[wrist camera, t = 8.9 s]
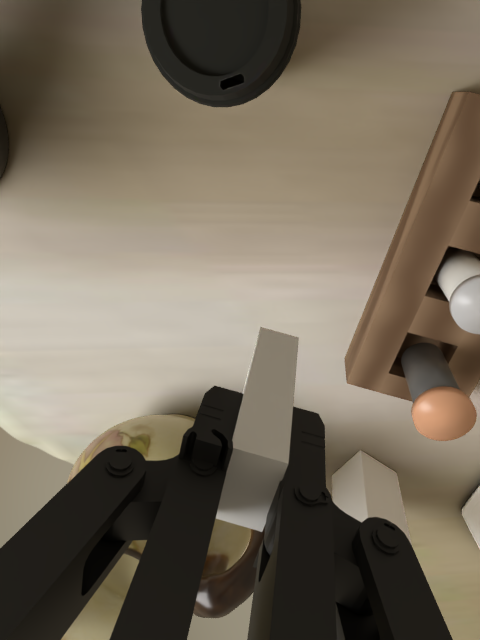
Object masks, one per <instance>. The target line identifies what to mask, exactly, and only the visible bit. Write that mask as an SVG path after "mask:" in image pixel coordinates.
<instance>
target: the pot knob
mask: <svg viewBox="0 0 480 640" xmlns="http://www.w3.org/2000/svg"><path fill="white" fill-rule="evenodd" d="M401 364H402V368H403V371H404V374H405V378H406V381H407V384H408V387H409V391H410V394H411V397H412V401H413V405H412V410H411V413H412V417H413V421H414V424H415V427H416V428H417V430H418V431H419V432H420V433H421V434H422V435H424V436H425V437H427V438H430V439H433V440H438V441H448V440H453V439H457V438H459V437H461V436H463V435H465V434H466V433H468V432H469V431H470V430H471V429H472V427H473V426H474V424H475V422H476V417H477V415H476V410H475V407H474V405H473V403H472V401H471V400H470V398H469V397H468V395H467V394H465V393H464V392H463V391H461V390H460V388H459V386H458V384H457V382H456V380H455V378H454V376H453V374H452V372H451V369H450V367H449V365H448V363H447V361H446V359H445V357H444V355H443V353H442V351H441V350H440V348H438V347H437V346H436V345H434V344H431V343H417V344H414V345H412V346H410V347H409V348H407V349H406V350H405V352H404V353H403V355H402V358H401Z"/></svg>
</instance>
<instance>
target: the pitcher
mask: <svg viewBox="0 0 480 640" xmlns="http://www.w3.org/2000/svg"><path fill="white" fill-rule="evenodd" d="M194 422H195V419H194V418H191V417H188V416H184V415H177V414H169V415H150V416H143V417H138V418H134V419H131V420H128V421H125V422H122V423H120V424H118V425H116V426H114V427H112V428H110V429H108V430H107V431H105V432H104V433H102V434H101V435H100V436H98V437H97V438H96V439H95V440H94V441H93V442H92V443H91V444H90V445H89V446H88V447H87V448H86V449H85V450H84V451H83V453H82V454H81V455H80V457H79V458H78V460H77V461H76V463H75V465H74V467H73V469H72V471H71V473H70V476H69V478H68V481H67V483H68V482H69V481H70V480H72V479H73V478H74V477H75V476H76V475H77V474H78V473H79V472H80V471H81V470H82V469H83V468H84V467H85V466H86V465H87V464H88V463H89V462H90V461H91V460H92V459H93V458H94V457H95V456H96V455H97V454H98V453H100V452H101V451H103V450H104V449H106V448H109V447H113V446H128V447H131V448H134V449H136V450H138V451H139V452H140V453H141V454H142V455H143V456H144V458H145V460H153V461H158V460H167V459H170V458H173V457H175V456H176V455H178V454H179V452H180V448H181V443H182V439H183V435H184V434H185V432H186V431H187V429H189V428H191V427H193V424H194ZM265 526H266V524H265ZM265 526H264V529H263V531H262V532H260V531H257V530H254V529H250V528H247V527H243V526H240V525H236V524H233V523H230V522H226V521H223V520H219V519H215V523H214V527H213V531H212V535H211V540H210V544H209V548H208V552H207V556H206V561H205V565H204V569H203V573H202V577H201V582H200V586H199V590H198V594H197V598H196V603H195V607H194V611H193V613H194V614H195V615H196V616H199V617H203V618H220V617H223V616H225V615H227V614H229V613H230V612H231V611H233V610H234V609H235V608H237V607H238V606H239V605H240V604H242V603H243V602H244V601H245V600H246V599H247V598H248V597H250V595H251V594H252V593H253V592H254V586H255V579H256V571H257V568H254V567H253V565H254V562H255V559H256V557H257V554H258V552H259V549H260V547H261V544H262V541H263V539H264V534H265ZM249 540H250V542H249ZM146 542H147V540H135V541H132V543H131V544H130V546H129V547H128V548H127V550H126V551H125V552H124V554H123V555H122V557H121V558H120V559H119V561H118V562H117V563H116V565H115V566H114V568H113V569H112V570H111V572H110V573H109V574H108V576H107V577H106V578H105V580H104V581H103V583H102V584H101V585H100V587H99V588H98V589H97V591H96V592H95V593H94V595H93V596H92V598H91V599H90V600H89V602H88V603H87V604H86V606H85V607H84V608H83V610H82V611H81V613H80V614H79V615H78V617H77V618H76V619H75V621H74V622H73V624H72V625H71V626H70V628H69V629H68V630H67V632H66V633H65V634H64V636H63V637H62V639H61V640H109V639H110V637H111V634H112V632H113V629H114V626H115V624H116V621H117V618H118V616H119V613H120V610H121V608H122V605H123V603H124V600H125V597H126V595H127V592H128V589H129V587H130V584H131V581H132V579H133V576H134V574H135V571H136V568H137V566H138V563H139V560H140V558H141V555H142V552H143V550H144V547H145V545H146ZM248 542H249V545H248V547H247V544H248ZM246 547H247V549H246ZM245 549H246V551H245ZM244 551H245V553H244V554H243V552H244ZM242 554H243V555H242ZM241 556H242V557H241ZM240 557H241V558H240Z"/></svg>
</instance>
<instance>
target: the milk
mask: <svg viewBox="0 0 480 640" xmlns="http://www.w3.org/2000/svg"><path fill="white" fill-rule="evenodd" d="M332 500H333V503H334V504H335V505H336V506H337V507H338V508H339V509H341V510H342V511H343V512H345V513H346V514H348V515H350V516H351V517H353V518H355V519H356V520H358V521H360V522H363V521H364V520H366V519H367V518H370V517H379V518H383V519H387V520H388V521H390V522H392V523H394V524H395V525H397V526H398V527H399V528H400V529H401V530H402V531H403V532H404V533H405V535H406V536H407V538H408V540H409V541H410V543H411V540H410V535H409V530H408V525H407V520H406V515H405V510H404V505H403V501H402V496H401V491H400V486H399V481H398V476H397V473H396V472H395V471H393V470H392V469H390V468H388V467H387V466H385V465H384V464H382V463H380V462H379V461H377V460H376V459H374V458H372V457H371V456H369V455H368V454H366V453H364V452H363V451H361V450H360V451H359V452H357V453H356V454H355V455H354V456H353V457H352V458H351V459H350V460H349V461H347V462H346V463H345V464H344V465H343V466H342V467H341V468H340V469H339V470H337V471H336V472H335V473H334V474H333V475H332ZM411 545H412V544H411Z"/></svg>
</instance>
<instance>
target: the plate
mask: <svg viewBox="0 0 480 640" xmlns="http://www.w3.org/2000/svg"><path fill="white" fill-rule="evenodd" d="M461 514H462V516H463V518H464V520H465V522H466V524H467V526H468V528H469V530H470V531H471V533H472V535H473V537H474V539H475V541H476V543H477V545H478V547H479V549H480V484H479V485H478V487H477V488H476V489H475V491H474V492H473V493H472V495H471V496H470V497H469V499H468V500H467V501H466V503H465V504H464V506H463V507H462V511H461Z"/></svg>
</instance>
